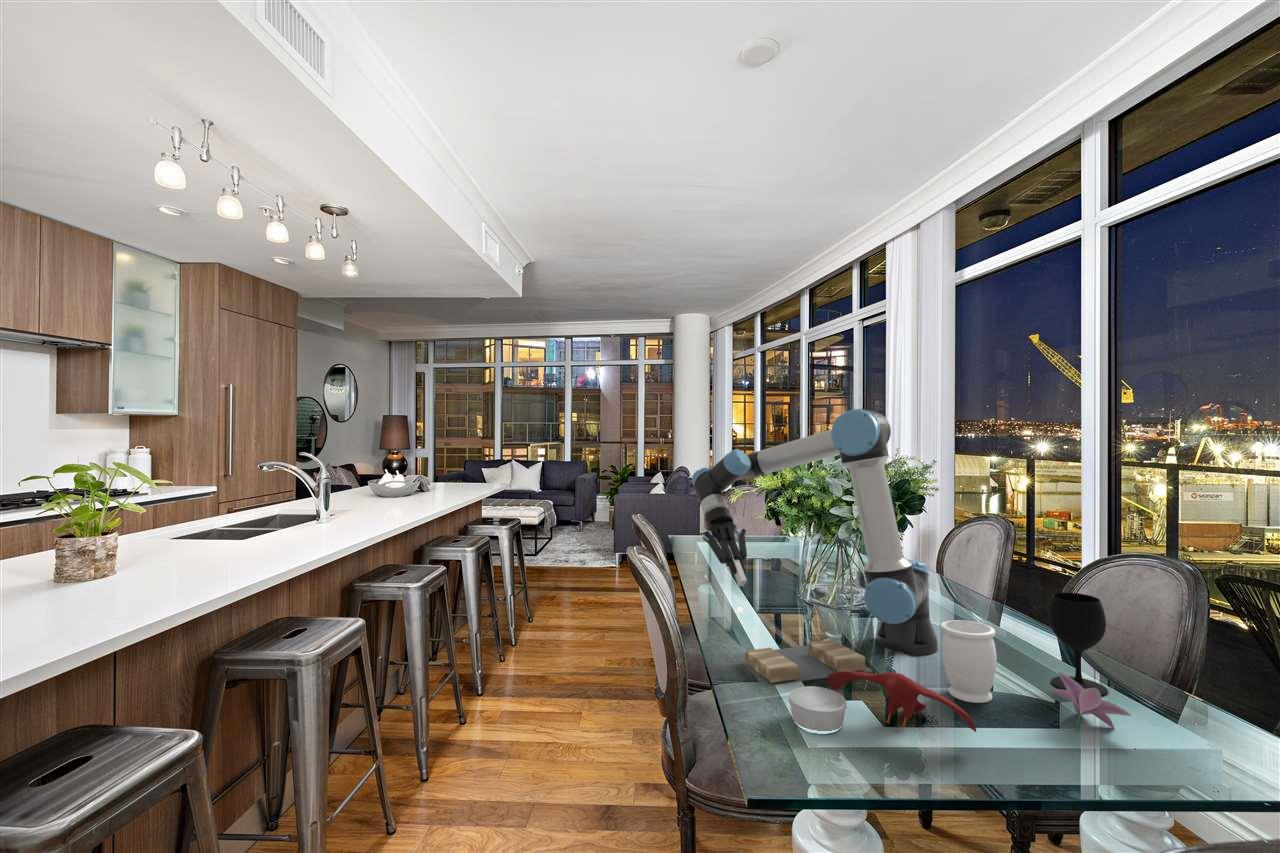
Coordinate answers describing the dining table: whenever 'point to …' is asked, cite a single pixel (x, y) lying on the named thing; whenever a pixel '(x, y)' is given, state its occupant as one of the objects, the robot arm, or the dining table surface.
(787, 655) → the mat
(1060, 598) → the wine glass
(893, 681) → the red dinosaur figurine
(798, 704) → the ramekin
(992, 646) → the jar
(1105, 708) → the lily
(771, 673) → the tile two
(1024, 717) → the dining table surface
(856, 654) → the tile one
